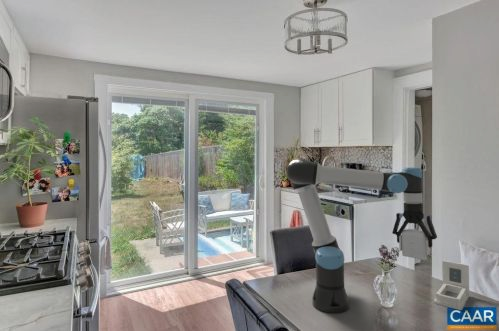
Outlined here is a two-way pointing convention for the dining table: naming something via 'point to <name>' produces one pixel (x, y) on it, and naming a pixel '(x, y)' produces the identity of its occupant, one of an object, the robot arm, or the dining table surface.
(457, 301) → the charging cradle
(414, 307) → the dining table surface
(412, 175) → the robot arm
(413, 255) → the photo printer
